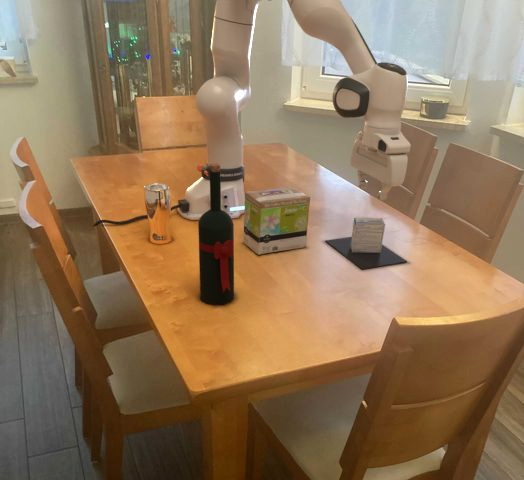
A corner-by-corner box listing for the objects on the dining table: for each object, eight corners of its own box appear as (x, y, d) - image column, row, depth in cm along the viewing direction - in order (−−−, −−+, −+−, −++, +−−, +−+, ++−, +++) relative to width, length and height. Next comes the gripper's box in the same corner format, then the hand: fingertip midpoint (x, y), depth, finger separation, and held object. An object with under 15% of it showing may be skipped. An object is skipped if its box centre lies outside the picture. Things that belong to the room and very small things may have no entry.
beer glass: (177, 237, 155) (174, 184, 147) (166, 246, 150) (162, 192, 142) (155, 233, 157) (151, 181, 149) (143, 242, 152) (138, 188, 143)
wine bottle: (210, 312, 120) (207, 174, 103) (195, 292, 127) (189, 161, 111) (243, 306, 123) (245, 171, 106) (226, 287, 130) (225, 158, 114)
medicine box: (378, 247, 152) (382, 217, 148) (380, 254, 149) (385, 223, 144) (350, 246, 152) (353, 216, 148) (351, 253, 149) (355, 222, 144)
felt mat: (361, 270, 141) (362, 268, 141) (325, 241, 156) (325, 240, 156) (406, 262, 145) (407, 261, 145) (367, 236, 161) (367, 234, 161)
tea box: (259, 256, 146) (260, 202, 138) (242, 243, 153) (243, 191, 145) (306, 247, 152) (311, 195, 144) (289, 235, 159) (292, 184, 151)
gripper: (348, 129, 141) (341, 182, 149) (392, 148, 125) (382, 207, 133) (369, 128, 143) (361, 180, 151) (415, 147, 128) (404, 204, 135)
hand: (371, 193), depth 142 cm, fingers open, 8 cm apart
